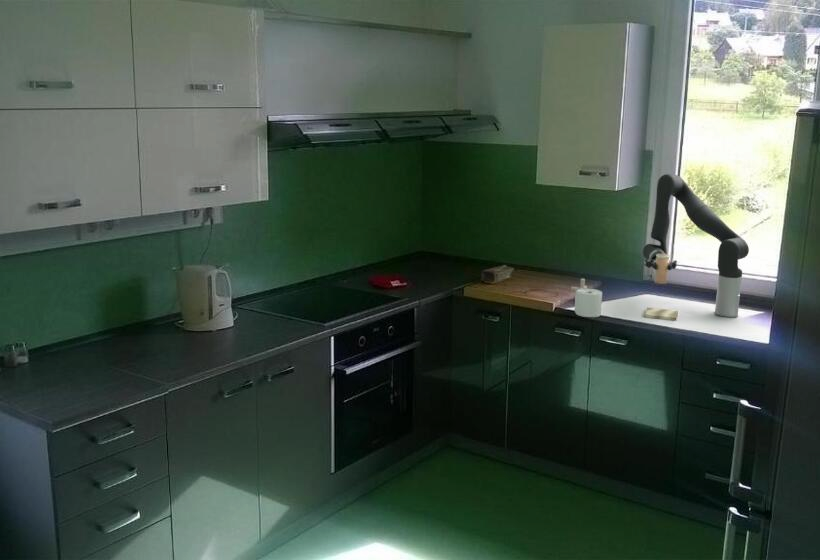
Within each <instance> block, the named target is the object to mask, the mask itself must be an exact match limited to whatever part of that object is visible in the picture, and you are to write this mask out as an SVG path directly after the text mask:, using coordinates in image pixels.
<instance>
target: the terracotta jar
mask: <svg viewBox="0 0 820 560" xmlns="http://www.w3.org/2000/svg"><path fill="white" fill-rule="evenodd" d="M670 256H671V255H670V254H668V253H667V254H656V257H657V258H656V264H657V270H655V271H654V272H655V273H654V283H655V284H662V285H664V284H667V283H668V275H669V272H668V271H669V270H668V263H669V261H670Z"/></svg>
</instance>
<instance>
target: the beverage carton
mask: <svg viewBox="0 0 820 560" xmlns="http://www.w3.org/2000/svg"><path fill="white" fill-rule="evenodd" d="M512 276H515V267H511V266H507V265H506V264H503V265H500V266H495V267H491V268H486V269H483V270H481V276H480V282H481V281H487V282H496V281H500V280H503V279H506V278H509V277H512Z"/></svg>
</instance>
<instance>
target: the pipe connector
mask: <svg viewBox="0 0 820 560" xmlns="http://www.w3.org/2000/svg"><path fill="white" fill-rule="evenodd" d="M585 283H586V279H585V278H580V284H579V285H580V286H579V287H578V286H571V287H570V290H571V291H575V292H576V291H577V290H579V289H588V286H587V285H585Z"/></svg>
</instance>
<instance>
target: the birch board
mask: <svg viewBox="0 0 820 560" xmlns="http://www.w3.org/2000/svg"><path fill="white" fill-rule="evenodd" d="M678 315H679V310H675V309H674V310H673V309H663V308H655V307H647V308H646V310H645V312H644V315H643V317H644V318H649V319H657V318H658V320H666V319H668V321H675V320H676V321H677V318H678Z"/></svg>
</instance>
